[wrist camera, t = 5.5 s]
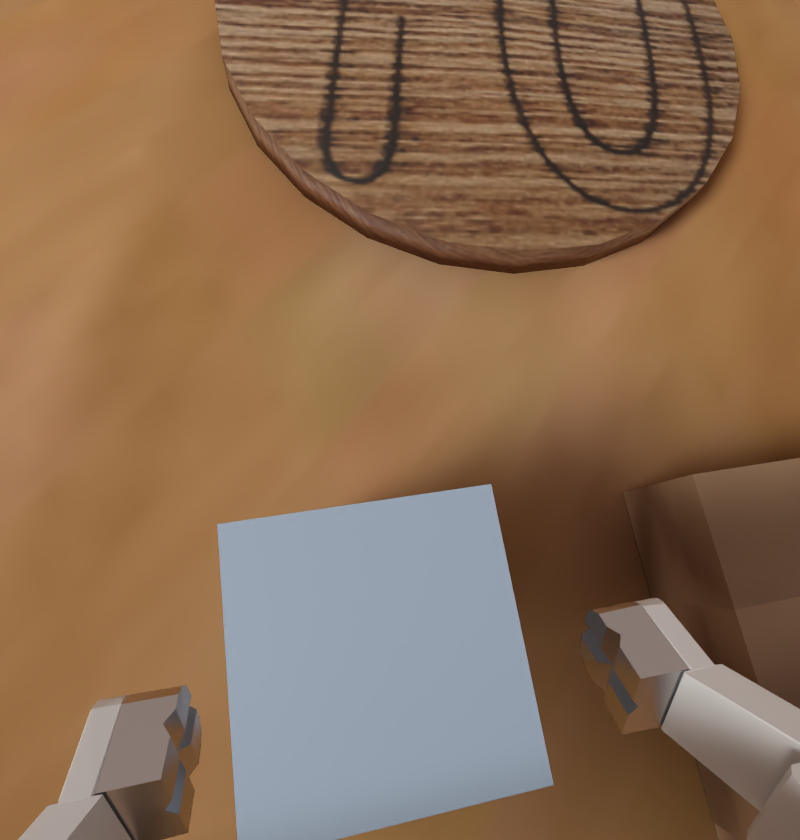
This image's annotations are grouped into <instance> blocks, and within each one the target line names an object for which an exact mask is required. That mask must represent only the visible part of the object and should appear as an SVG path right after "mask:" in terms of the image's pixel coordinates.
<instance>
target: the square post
mask: <svg viewBox="0 0 800 840" xmlns="http://www.w3.org/2000/svg"><path fill="white" fill-rule="evenodd" d="M217 525H218V541H219V557H220V572H221V588H222V604H223V620H224V635H225V651H226V667H227V683H228V698H229V714H230V730H231V745H232V761H233V777H234V793H235V808H236V824H237V840H337V839H341V838H345V837H349V836H353V835H356V834H360V833H364V832H368V831H372V830H376V829H380V828H384V827H388V826H392V825H396V824H400V823H404V822H408V821H412V820H416V819H420V818H424V817H428V816H432V815H436V814H440V813H444V812H448V811H452V810H456V809H460V808H464V807H468V806H472V805H476V804H480V803H484V802H488V801H492V800H496V799H500V798H504V797H508V796H512V795H516V794H520V793H524V792H528V791H532V790H536V789H540V788H544V787H548V786H552V785H554V784H553V779H552V775H551V770H550V765H549V760H548V755H547V751H546V746H545V741H544V736H543V731H542V726H541V722H540V717H539V712H538V707H537V702H536V698H535V693H534V688H533V683H532V678H531V674H530V669H529V664H528V659H527V654H526V649H525V645H524V640H523V635H522V630H521V625H520V621H519V616H518V611H517V606H516V601H515V596H514V592H513V587H512V582H511V577H510V572H509V568H508V563H507V558H506V553H505V548H504V544H503V539H502V534H501V529H500V524H499V519H498V515H497V510H496V505H495V500H494V495H493V491H492V486H491V484H488V485H481V486H474V487H467V488H460V489H454V490H447V491H440V492H433V493H426V494H420V495H413V496H406V497H399V498H393V499H386V500H379V501H372V502H365V503H359V504H352V505H345V506H338V507H331V508H325V509H318V510H311V511H304V512H298V513H291V514H284V515H277V516H270V517H264V518H257V519H250V520H243V521H236V522H230V523H223V524H217Z"/></svg>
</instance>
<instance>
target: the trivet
mask: <svg viewBox="0 0 800 840" xmlns="http://www.w3.org/2000/svg"><path fill="white" fill-rule="evenodd" d="M215 6H216V13H217V21H218V28H219V36H220V43H221V50H222V57H223V62H224V66H225V71H226V75H227V79H228V84H229V88H230V91H231V93H232V95H233V97H234V99H235V101H236V103H237V105H238V107H239V109H240V111H241V113H242V115H243V117H244V119H245V121H246V123H247V125H248V127H249V129H250V131H251V133H252V135H253V137H254V139H255V141H256V143H257V145H258V147H259V148H260V149H261V150H262V151H263V152H264V153H265V154H266V155H267V156H268V157H269V159H270V160H271V161H272V162H273V163H274V164H275V165H276V166H277V167H278V168H279V169H280V170H281V172H282V173H283V174H284V175H285V176H286V177H287V178H288V179H289V180H290V181H291V182H292V184H293V185H294V186H295V187H296V188H297V189H298V190H299V191H300V192H301V193H302V194H303V195H304V197H306V198H307V199H309V200H310V201H312V202H314V203H315V204H317V205H318V206H320V207H321V208H323V209H324V210H326V211H327V212H329V213H330V214H332V215H333V216H335V217H336V218H338V219H339V220H341V221H343V222H344V223H346V224H347V225H349V226H350V227H352V228H353V229H355V230H356V231H358V232H359V233H361V234H362V235H364V236H365V237H367V238H370V239H372V240H375V241H378V242H380V243H383V244H386V245H389V246H391V247H394V248H397V249H399V250H402V251H405V252H408V253H410V254H413V255H416V256H419V257H421V258H424V259H427V260H429V261H432V262H435V263H438V264H442V265H450V266H458V267H466V268H474V269H481V270H489V271H497V272H505V273H513V274H515V273H523V272H532V271H541V270H550V269H559V268H567V267H576V266H583V265H586V264H588V263H591V262H593V261H596V260H598V259H601V258H603V257H606V256H608V255H611V254H613V253H616V252H618V251H621V250H623V249H626V248H628V247H631V246H633V245H636V244H638V243H641V242H642V241H643V240H644V239H645V238H647V237H648V236H649V235H650V234H651V233H653V232H654V231H655V230H656V229H657V228H659V227H660V226H661V225H662V224H663V223H665V222H666V221H667V220H668V219H670V218H671V217H672V216H673V215H674V214H676V213H677V212H678V211H679V210H680V209H682V208H683V207H684V206H685V205H686V204H687V203H688V202H689V201H690V200H691V198H692V197H693V196H694V195H695V194H696V193H697V192H698V191H699V190H700V189H701V188H702V187H703V186H704V185H705V184H706V183H707V181H708V179H709V178H710V176H711V174H712V172H713V171H714V169H715V167H716V165H717V164H718V162H719V160H720V159H721V157H722V155H723V153H724V152H725V150H726V148H727V147H728V145H729V143H730V141H731V140H732V138H733V132H734V126H735V119H736V113H737V107H738V101H739V95H740V83H739V77H738V71H737V65H736V59H735V53H734V47H733V41H732V38H731V36H730V33H729V31H728V29H727V27H726V25H725V23H724V21H723V19H722V17H721V15H720V13H719V10H718V8H717V6H716V4H715V2H714V0H215Z"/></svg>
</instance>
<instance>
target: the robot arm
mask: <svg viewBox="0 0 800 840" xmlns="http://www.w3.org/2000/svg"><path fill="white" fill-rule="evenodd" d="M585 622H586V624H587V626H588V627H589V628H588V629H587V630H586V631H585V632H584V634H583V635H582V636H581V642H580V651H581V657H582V661H583V663H584V666H585V669H586V671H587V673H588V675H589V677H590V678H591V680H592V682H594V683H595V684H596V685H598V686H599V687H601V688H602V689H604V690H605V693H604V704H605V706H606V707H607V709H608V711H609V713H610V715H611V716H612V718H613V720H614V722H615V723H616V725H617V727H618V729H619V731H620V732H621V734H627V733H632V732H637V731H643V730H648V729H653V728H658V727H662V728H661V730H662V731H663V732H665V733H666V734H667V735H668V736H669V737H671V738H672V739H673V740H674V741H675V742H677V743H678V744H679V745H680V746H681V747H683V748H684V749H685V750H686V751H688V752H689V753H690V754H691V755H692V756H694V757H695V758H696V759H697V760H698V761H700V762H701V763H702V764H703V765H704V766H706V767H707V768H708V769H709V770H710V771H712V772H713V773H714V774H715V775H717V776H718V777H719V778H720V779H721V780H723V781H724V782H725V783H726V784H727V785H729V786H730V787H731V788H732V789H733V790H735V791H736V792H737V793H738V794H739V795H741V796H742V797H743V798H744V799H746V800H747V801H748V802H749V803H750V804H752V805H753V806H754V807H755V808H756V809H758V810H759V811H760V812H759V814H758V815H757V817H756V818H755V820H754V821H753V823H752V824H751V826H750V827H749V828H748V832H747V840H800V709H799V708H797V707H795V706H794V705H792V704H790V703H789V702H787V701H785V700H783V699H782V698H780V697H778V696H776V695H775V694H773V693H771V692H770V691H768V690H766V689H764V688H763V687H761V686H759V685H757V684H756V683H754V682H752V681H750V680H749V679H747V678H745V677H744V676H742V675H740V674H738V673H737V672H735V671H733V670H731V669H730V668H728V667H726V666H725V665H723V664H716V665H715V664H714V663H713V662H712V661H711V660H710V658H709V657H708V656H707V655H706V653H705V652H704V651H703V650H702V648H701V647H700V646H699V645H698V644H697V642H696V641H695V640H694V639H693V637H692V636H691V635H690V634H689V633H688V631H687V630H686V629H685V628H684V626H683V625H682V624H681V623H680V621H679V620H678V619H677V618H676V617H675V615H674V614H673V613H672V612H671V610H670V609H669V608H668V607H667V606H666V604H665V603H664V602H663V601H662V600H660V599H658V598H649V599H644V600H640V601H635V602H632V601H631V602H626V603H621V604H616V605H611V606H606V607H601V608H596V609H591V610H590V611H589V612H588V613H587V615H586V619H585ZM190 698H191V694H190V692H189V690H188V688H187V686H186V685H184V686H178V687H172V688H166V689H161V690H155V691H149V692H143V693H137V694H131V695H124V696H118V697H113V698H108V699H102V700H98V701H97V702H96V704H95V705H94V706H93V708H92V709H91V711H90V713H89V716H88V719H87V722H86V724H85V727H84V730H83V733H82V736H81V739H80V741H79V744H78V747H77V750H76V753H75V755H74V758H73V761H72V764H71V767H70V769H69V772H68V775H67V778H66V781H65V783H64V786H63V789H62V792H61V795H60V798H59V800H58V803H56V804H52V805H48V806H47V807H46V808H45V809H44V811H43V812H42V813H41V814H40V815H39V816H38V817H37V819H36V820H35V821H34V822H33V823H32V824H31V825H30V827H29V828H28V829H27V830H26V831H25V832H24V833H23V835H22V836H21V837H20V838H19V839H18V840H162V839H166V838H170V837H174V836H177V835H181V834H185V833H188V830H189V824H190V817H191V811H192V804H193V798H194V792H195V790H194V787H193V785H192V783H191V780H190V778H189V776H190V775H191V773H192V772H193V770H194V769H195V768H196V766H197V765H198V764H199V757H200V750H201V724H200V718H199V715H198V712H197V709H195V708H193V707H190V706H189V704H190Z"/></svg>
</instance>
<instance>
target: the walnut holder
mask: <svg viewBox="0 0 800 840" xmlns="http://www.w3.org/2000/svg"><path fill="white" fill-rule="evenodd" d="M623 495H624V499H625V503H626V506H627V510H628V514H629V517H630V521H631V525H632V528H633V532H634V535H635V539H636V543H637V546H638V550H639V554H640V557H641V561H642V564H643V568H644V572H645V575H646V579H647V583H648V586H649V590H650V594H651V597H652V598H658V599H660V600H662V601H663V602H664V603H665V604H666V606H667V607H668V608H669V609H670V610H671V612H672V613H673V614H674V615H675V617H676V618H677V619H678V620H679V621H680V623H681V624H682V625H683V626H684V628H685V629H686V630H687V631H688V633H689V634H690V635H691V636H692V637H693V639H694V640H695V641H696V642H697V644H698V645H699V646H700V647H701V648H702V650H703V651H704V652H705V653H706V655H707V656H708V657H709V658H710V660H711V661H712V662H713V663H714V664H715V665H716V664H723V665H725V666H726V667H728V668H730V669H731V670H733V671H735V672H737V673H738V674H740V675H742V676H744V677H745V678H747V679H749V680H750V681H752V682H754V683H756V684H757V685H759V686H761V687H763V688H764V689H766V690H768V691H770V692H771V693H773V694H775V695H776V696H778V697H780V698H782V699H783V700H785V701H787V702H789V703H790V704H792V705H794V706H795V707H797V708H799V709H800V458H795V459H788V460H782V461H776V462H769V463H763V464H756V465H750V466H743V467H737V468H730V469H724V470H717V471H711V472H704V473H698V474H692V475H688V476H684V477H680V478H676V479H672V480H668V481H665V482H661V483H657V484H653V485H649V486H645V487H641V488H638V489H634V490H630V491H626V492H623ZM696 761H697V764H698V768H699V771H700V775H701V779H702V782H703V786H704V790H705V793H706V797H707V801H708V804H709V808H710V811H711V815H712V819H713V822H714V826H715V830H716V833H717V837H718V840H747V832H748V828H749V827H750V826H751V824H752V823H753V821H754V820H755V818H756V817H757V815H758V814H759V812H760V811H759V810H758V809H756V808H755V807H754V806H753V805H752V804H750V803H749V802H748V801H747V800H746V799H744V798H743V797H742V796H741V795H739V794H738V793H737V792H736V791H735V790H733V789H732V788H731V787H730V786H729V785H727V784H726V783H725V782H724V781H723V780H721V779H720V778H719V777H718V776H717V775H715V774H714V773H713V772H712V771H710V770H709V769H708V768H707V767H706V766H704V765H703V764H702V763H701V762H700V761H698V760H697V759H696Z"/></svg>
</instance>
